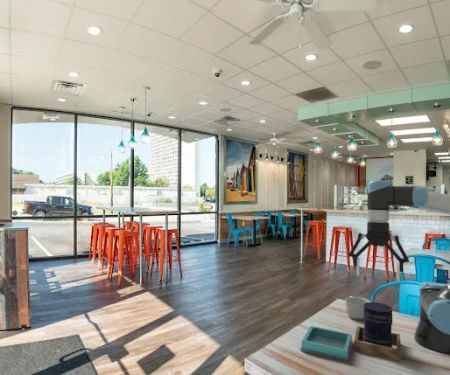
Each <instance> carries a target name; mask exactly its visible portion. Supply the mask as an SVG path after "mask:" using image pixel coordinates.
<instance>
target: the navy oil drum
mask: <svg viewBox="0 0 450 375" xmlns="http://www.w3.org/2000/svg"><path fill="white" fill-rule="evenodd" d="M363 315H364V316H363V318H364V320H363V322H364V323H363V327H364V329H363V337H362V339H363V342H368V343H372V344H377V345H382V346H387V347H391V348H393V343H392V338H393V337H392V334H391V333H392V326H393V308H392V306H390V305H387V304H384V303H380V302H374V301H373V302H371V301H370V302H367V303H364V311H363Z"/></svg>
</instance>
